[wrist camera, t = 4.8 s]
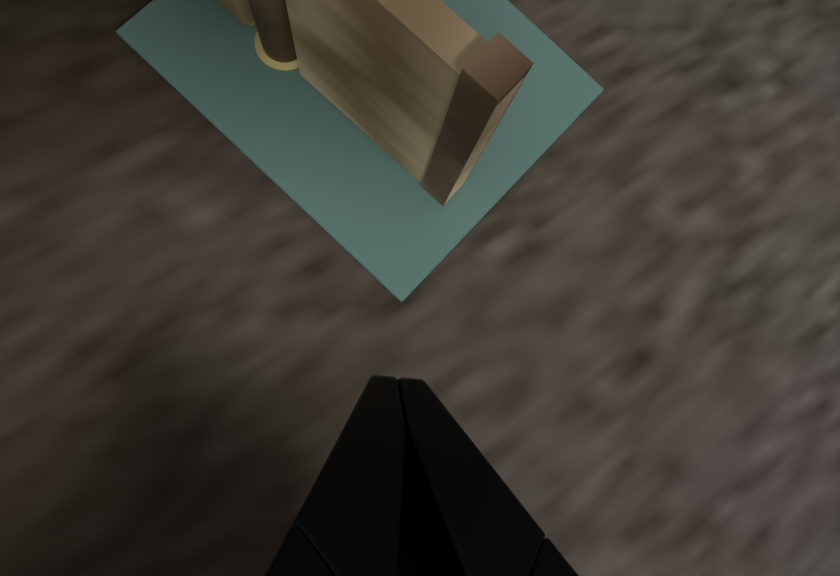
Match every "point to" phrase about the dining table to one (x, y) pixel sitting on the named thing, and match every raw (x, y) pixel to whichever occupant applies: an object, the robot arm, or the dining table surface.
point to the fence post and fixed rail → (267, 25)
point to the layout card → (357, 130)
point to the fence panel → (410, 80)
